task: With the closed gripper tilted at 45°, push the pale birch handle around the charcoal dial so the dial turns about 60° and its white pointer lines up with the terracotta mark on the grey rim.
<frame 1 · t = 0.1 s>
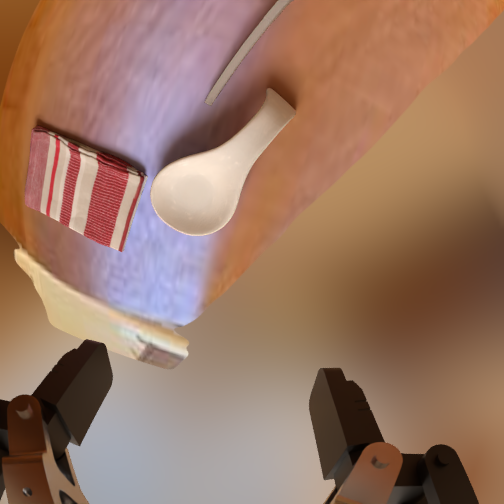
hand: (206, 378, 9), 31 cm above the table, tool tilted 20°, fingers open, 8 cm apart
dish towel: (79, 186, 39), on the table
caliper: (253, 41, 26), on the table
spoon rest: (221, 159, 36), on the table
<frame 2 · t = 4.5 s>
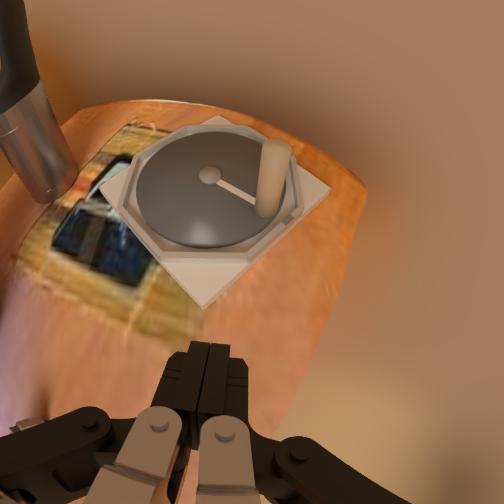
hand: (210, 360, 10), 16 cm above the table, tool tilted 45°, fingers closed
caliper: (30, 475, 15), on the table
dial: (208, 153, 29), point 7 cm above the table, hinge at 0.0°
dial plate: (211, 191, 35), on the table
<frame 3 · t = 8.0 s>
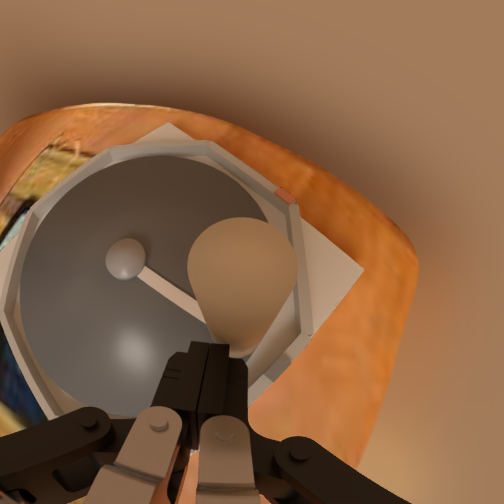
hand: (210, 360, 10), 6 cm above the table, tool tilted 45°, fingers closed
dial: (103, 226, 12), point 7 cm above the table, hinge at 2.8°, touching gripper
dial plate: (139, 277, 18), on the table
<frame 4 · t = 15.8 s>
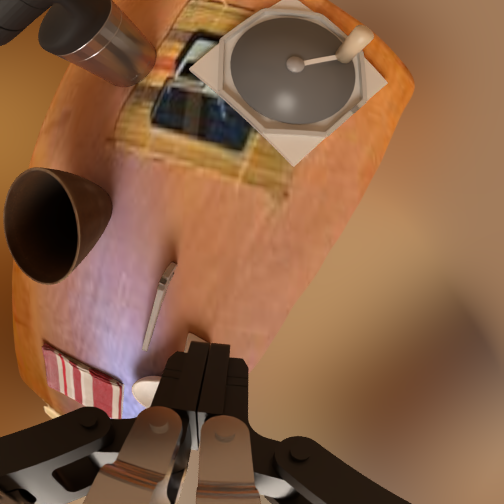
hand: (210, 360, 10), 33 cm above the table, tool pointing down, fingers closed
dish towel: (83, 382, 54), on the table
caliper: (158, 310, 47), on the table
plant pot: (96, 207, 41), on the table
spoon rest: (172, 371, 51), on the table
dial: (299, 55, 29), point 7 cm above the table, hinge at 55.3°
dial plate: (292, 71, 35), on the table
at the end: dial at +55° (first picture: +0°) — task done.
